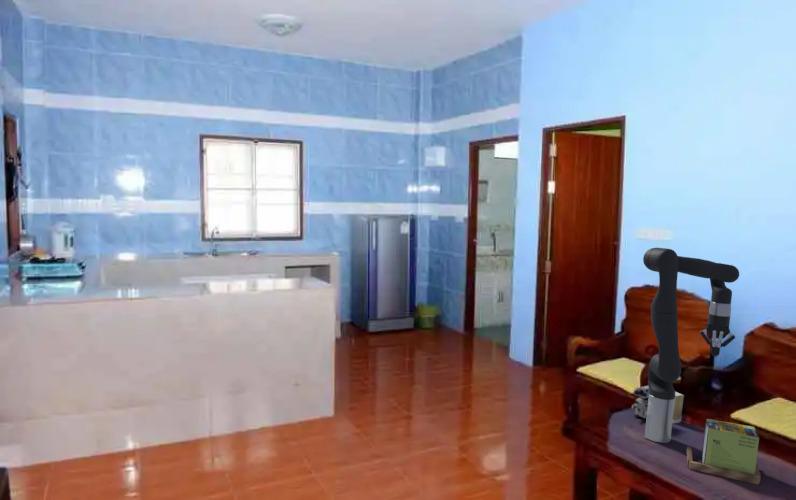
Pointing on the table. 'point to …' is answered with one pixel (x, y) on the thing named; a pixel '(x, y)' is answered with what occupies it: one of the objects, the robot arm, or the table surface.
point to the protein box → (730, 446)
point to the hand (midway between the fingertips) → (714, 355)
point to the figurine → (641, 401)
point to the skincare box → (677, 407)
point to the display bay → (722, 470)
